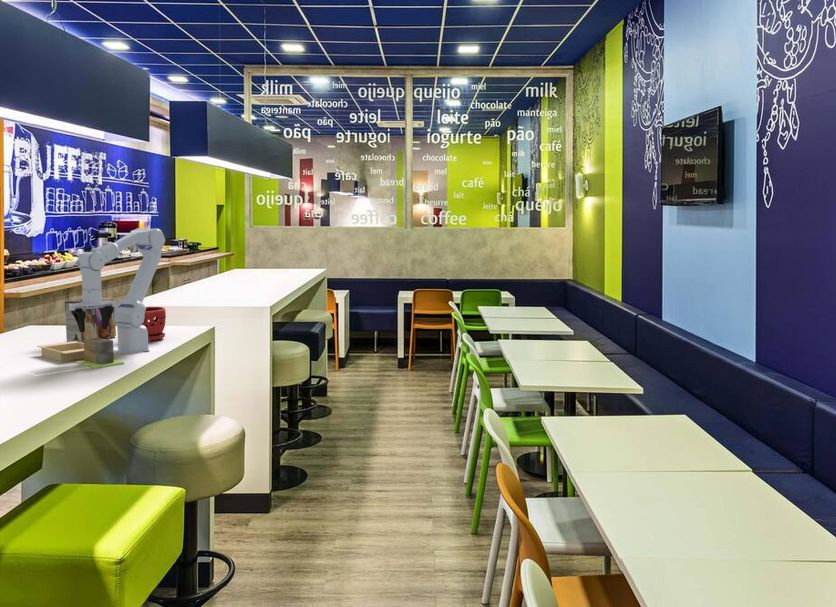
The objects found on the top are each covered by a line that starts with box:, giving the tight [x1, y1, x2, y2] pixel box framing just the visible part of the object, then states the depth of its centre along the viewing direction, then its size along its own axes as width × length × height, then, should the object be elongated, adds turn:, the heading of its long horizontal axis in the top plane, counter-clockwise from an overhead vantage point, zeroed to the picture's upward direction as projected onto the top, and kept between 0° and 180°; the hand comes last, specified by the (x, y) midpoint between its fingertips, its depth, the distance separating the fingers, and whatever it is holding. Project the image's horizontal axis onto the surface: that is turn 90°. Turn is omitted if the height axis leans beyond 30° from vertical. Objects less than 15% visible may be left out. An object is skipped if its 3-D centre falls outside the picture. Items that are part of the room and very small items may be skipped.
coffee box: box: [64, 298, 97, 343], centre depth 269 cm, size 9×6×16 cm
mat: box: [73, 359, 125, 370], centre depth 235 cm, size 10×12×1 cm
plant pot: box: [141, 306, 167, 342], centre depth 280 cm, size 13×13×12 cm
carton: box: [37, 341, 84, 363], centre depth 244 cm, size 13×19×4 cm
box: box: [83, 338, 115, 365], centre depth 235 cm, size 4×9×7 cm, turn 55°
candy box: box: [96, 297, 117, 339], centre depth 281 cm, size 9×4×15 cm, turn 141°
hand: (93, 330), depth 242 cm, fingers open, 7 cm apart
